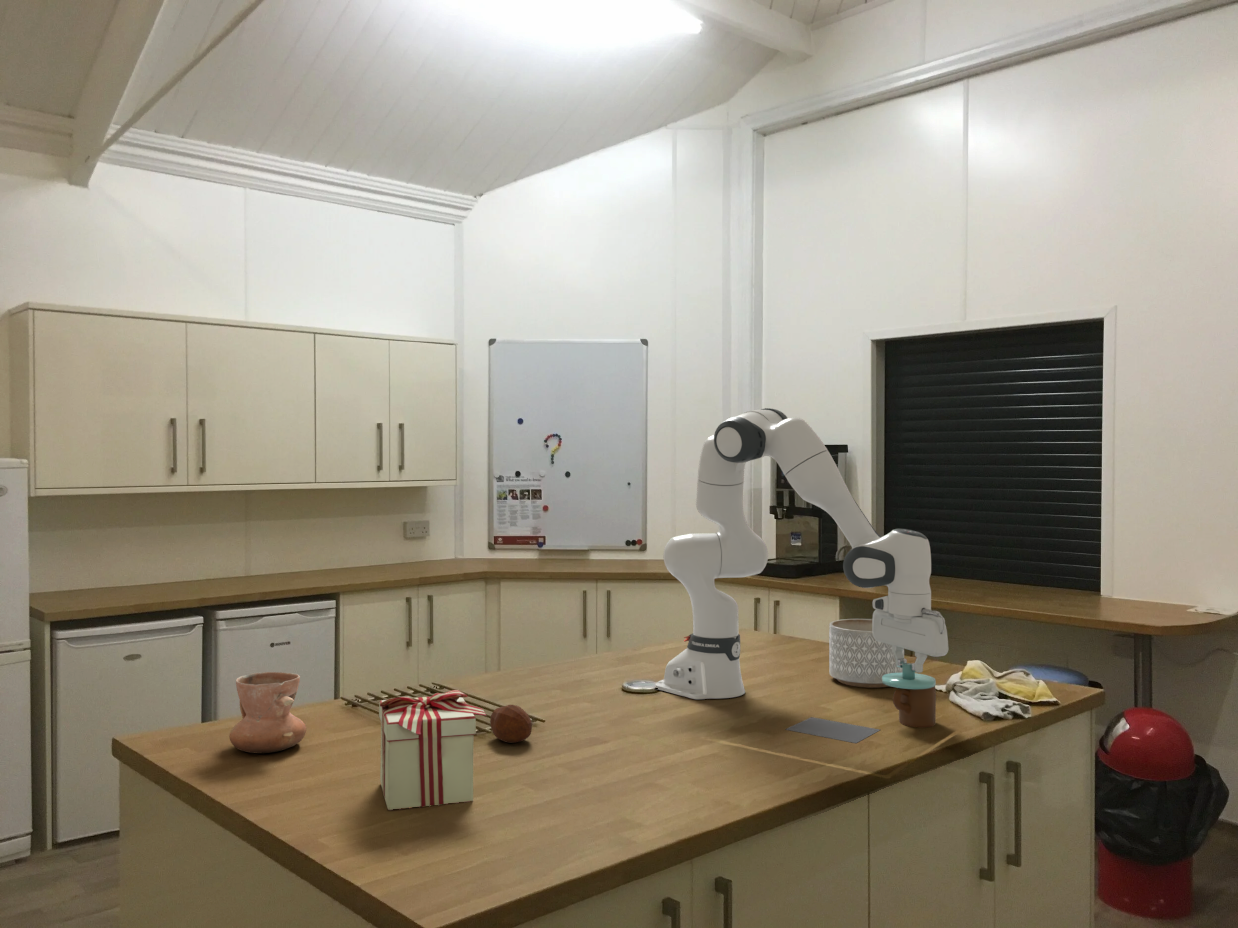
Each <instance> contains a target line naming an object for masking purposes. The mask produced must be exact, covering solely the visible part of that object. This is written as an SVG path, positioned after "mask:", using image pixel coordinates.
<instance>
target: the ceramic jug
mask: <svg viewBox="0 0 1238 928" xmlns="http://www.w3.org/2000/svg"><path fill="white" fill-rule="evenodd" d="M300 679H301V676H300V675H299V674H298V673H292V672H281V671H280V672H279V671H265V672H253V673H248V674H246V675H241V676H238V677H237V678H236V680H235V685H236V692H237V695H238V698H239V709H240V715H241V717H242V719H241V720H240V721H239V722H237V723H236V724H235V725H234V726H233V727H232V728H231V730H230V733H229V735H228V736H229V741H230V743H231V744H232V745H233V747H235V748H236V749H238V750H240V751H242V752H246V753H250V754H252V753H253V754H270V753H276V752H279V751H284V750H287V749H290V748H292V747H294V746H295V745H297V744H298V743H300V742H301V741H302V740H303V739H304V738H305V736H306V734H307V727H306V726H307V725H306V723H304V721H303V720H302V719H301V718H299V717H298V716H295V715H293V714H292V713H291V709H292V706H293V704H294V703H295V699H296V695H297V693H298V690H299V686H300V681H301V680H300Z"/></svg>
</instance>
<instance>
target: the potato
mask: <svg viewBox="0 0 1238 928" xmlns="http://www.w3.org/2000/svg"><path fill="white" fill-rule="evenodd" d="M489 723H490V728H491V731H492V734H493V735H494V737H495V738H497V739H498V740H500V741H503V742H505V743H508V744H509V743H510V744H515V743H520V742H523V741H525V740H526V739H528V738H529V737H530V736H531V734H532V730H533V729H532V728H533V724H532V718H531V717H530V716H529V714H528V713H527V712H526V710H525V709H523V708H522V707H520V706H519V705H516V704H506V705H505V706H500V707H496V708H495V709H494V710H493V711H492V712H491V715H490V719H489Z"/></svg>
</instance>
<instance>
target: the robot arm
mask: <svg viewBox="0 0 1238 928" xmlns="http://www.w3.org/2000/svg"><path fill="white" fill-rule="evenodd" d="M700 452H701V453H700V456H699V462H698V470H697V482H696V485H697V486H696V499H695V500H696V501H695V505H696V509H697V511H698V513H699V514H700V515H701V516H702V517H703V518H704V519H706V520H708V521H710V522H712V523H714V524H716V525H717V526H718V530H717V532H707V533H706V532H704V533H702V532H700V533H698V532H697V533H694V532H693V533H686V534H681V535H676V536H672V537H671V538H670V539H669V540H668V541H667V543H666V544H665V546H664V549H663V554H662V555H663V562H664V566H665V568H666V570H667V572H669V573H670V574H671V575H672V576H673V577H674V578H675V579H676V580H677V581H679V582H680V583H681V584H682V585H683V587H684V588H685V590H686V592H687V594H688V596H689V598H690V602H691V611H692V623H693V624H692V628H693V629H692V630H693V631H692V633H690V634H689V635H688V636H684V637H683V639H684V640H683V642H685V643H686V642H687V645H686V648H685V649H683V651H681V652H680V653H679V654H677V655H676V656H675V657H673V658H672V659H670V660H669V661H668V663H667V664H666V665H665V669H664V676H663V679H660V680H659V681H656V683H654V684H655V686H656V687H657V688H658V689H657V690H659V691H662V692H663V691H664V692H667V693H669V694H670V693H671V694H674V695H678V696H682V697H684V698H685V697H686V698H689V699H693V700H705V699H707V700H708V699H729V698H730V699H731V698H736V697H741V696H742V695H745V693H746V690H745V687H744V682H743V678H742V673H741V672H742V671H741V663H740V655H741V634H739V605H738V603H737V601H736V599H734V597H733V596H731V595H729V594H728V593H726V592H724V591H723V590H720V589H718V588H716V585H715V579H723V578H725V579H726V578H727V579H728V578H730V579H731V578H745V577H746V578H747V577H751V576H755V575H758V574H761V573H762V572H763V571H764V569H765V568H766V566H767V563H768V560H769V551H768V547H767V544H766V543H765V541H764V540H763V538H762V537H761V536H760V535H758V534H757V533H756V532H755V531H753V529H752V528H751V527H750V525H749V524H748V522H747V520H746V517H745V514H744V482H745V481H744V478H745V469H746V468H745V466H746V463H747V462H748V463H749V462H751V461H755V460H759V459H762V458H764V457H769V458H772V459H773V460H774V461H775V462H776V463H777V465H778V466H779V468H780V470H781V471H782V474H783V475H784V476H785V478H786V480H787V482H788V483H789V485H790V486H791V488H792V489H793V490H794V492H796V493H797V495H798V496H799V497H800V498H801V499H802V500H803V501H805V502H807V503H809V504H812V505H814V506H816V507H818V508H820V509H822V510H823V511H824V512H826V513H827V514H828V515H829V516H830V517H831V518H832V519H833V520H834V522H835V523H836V525H837V526H838V527H839V529H840V531H841V532H842V533H843V536H844V537H845V538H846V540H847V541H848V543H849V544H850V546H851V549H850V550H849V551H847V553H846V554H845V556H844V557H843V562H842V568H843V573H844V575H845V577H846V579H847V581H848V582H850V583H851V584H852V585H854V586H856V587H858V588H863V589H873V588H876V587H883V586H886V587H887V589H888V590H887V594H888V595H885V596H882V597H878V598H873V600H872V608H873V609H874V611H873V613H872V619H873V620H872V631H873V636H874V639H875V640H876V641H879V642H882V643H886V644H890V645H892V651H893V654H894V656H895V658H896V666H897V667H900V668H902V664H903V663H908V661H907V660H908V659H907V658H905V655H904V656H903V652H902V650H904V651H905V650H909V651H911V652H914V657H916V659H915V662H912V671H913V672H915V673H917V674H922V673H923V671H924V663H925V662H926V660H927V658H928V656H931V657H933V658H934V657H943V656H946V655H947V654H948V653H949V639H948V630H947V626H946V625H947V624H946V620H945V618H944V617H943V615H942V613H941V612H940V611H937V610H932V589H931V585H930V578H931V574H932V553H931V546H930V541H929V539H928V538H927V535H924V534H923V533H922V532H920V531H915V530H913V529H908V528H895V529H892V530H891V531H890V532H888V533H887V534H885V535H883V536H881V534H879V533H878V532H877V530H875V528H874V526H872V524H871V523H870V521H869V519H868V518H867V516H866V515H865V513H864V512H863V510H862V509H861V508H860V505H859V504H858V503H857V501H856V500H855V499H854V497H853V495H852V494H851V492H850V490H849V488H848V486H847V484H846V482H845V480H844V479H843V478H844V477H843V476H842V474H841V472H840V469H839V468H838V465H837V464H836V462H835V461H834V460H835V459H833V458H834V457H832V455H831V453H830V451H829V450H828V447H827V446H825V444H824V442H823V441H822V439H821V438H820V437H819V436H818V434H817V432H816V431H815V430H813V428H812V427H811V426H810V425H809V423H808V422H807V421H805V420H804V419H802V418H800V417H797V416H795V417H788V416H787V415H786V414H785V413H784V412H782V411H781V410H778V409H775V408H766V407H765V408H761V409H754V410H749V411H746V412H742V413H741V414H738V415H737V416H730V417H729V418H727V419H725V420H724V421H722V422H721V423H720V424H719V425H718V426H717V428H716V429H715V432H714V434H712V435H710V436H708V437H707V438H706V439H705V440H704V442H703V445H702V448H701V451H700ZM655 686H654V687H655Z"/></svg>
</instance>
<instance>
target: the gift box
mask: <svg viewBox="0 0 1238 928" xmlns="http://www.w3.org/2000/svg"><path fill="white" fill-rule="evenodd" d="M464 698H468V694H466V693H464V692H463V691H461V690H458V689H453V690H449V691H447V692H444V693H439V692H436V693H434V694H433V695H431V696H422V697H421V696H419V697H412V696H409V695H408V696H400V697H394V698H389V699H383V700H382V699H381V700H379V701H378V702H379V703H378V704H379V705H378V706H379V707H378V717H379V720H380V768H379V769H380V775H379V776H380V778H379V779H380V786H381V790H382V795H383V798H384V800H385V804H386V808H387V810H388V811H394V810H393V809H399V810H402V809H401V808H409V807H419V808H424V807H423V806H429V807H431V806H430V805H438V806H440V805H439V804H446V805H449V804H448V803H456V804H460V803H459V802H464V803H471V802H470V801H472V802H474V735H476V733H477V729H476V728H477V723H476V721H477V720H476V715H477V716H484V717H485V716H487V714H486V712H485V711H484V709H483V708H481V707H478V706H474V705H470V704H468V703H467V702H466V700H465V699H464ZM420 806H422V807H420ZM409 809H410V808H409Z"/></svg>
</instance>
